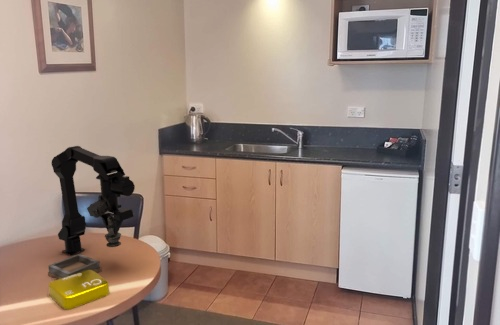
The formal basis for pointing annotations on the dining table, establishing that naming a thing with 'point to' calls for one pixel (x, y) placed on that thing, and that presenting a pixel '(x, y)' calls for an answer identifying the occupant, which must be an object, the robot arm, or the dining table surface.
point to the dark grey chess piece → (112, 235)
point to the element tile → (78, 289)
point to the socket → (73, 266)
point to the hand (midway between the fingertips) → (112, 232)
